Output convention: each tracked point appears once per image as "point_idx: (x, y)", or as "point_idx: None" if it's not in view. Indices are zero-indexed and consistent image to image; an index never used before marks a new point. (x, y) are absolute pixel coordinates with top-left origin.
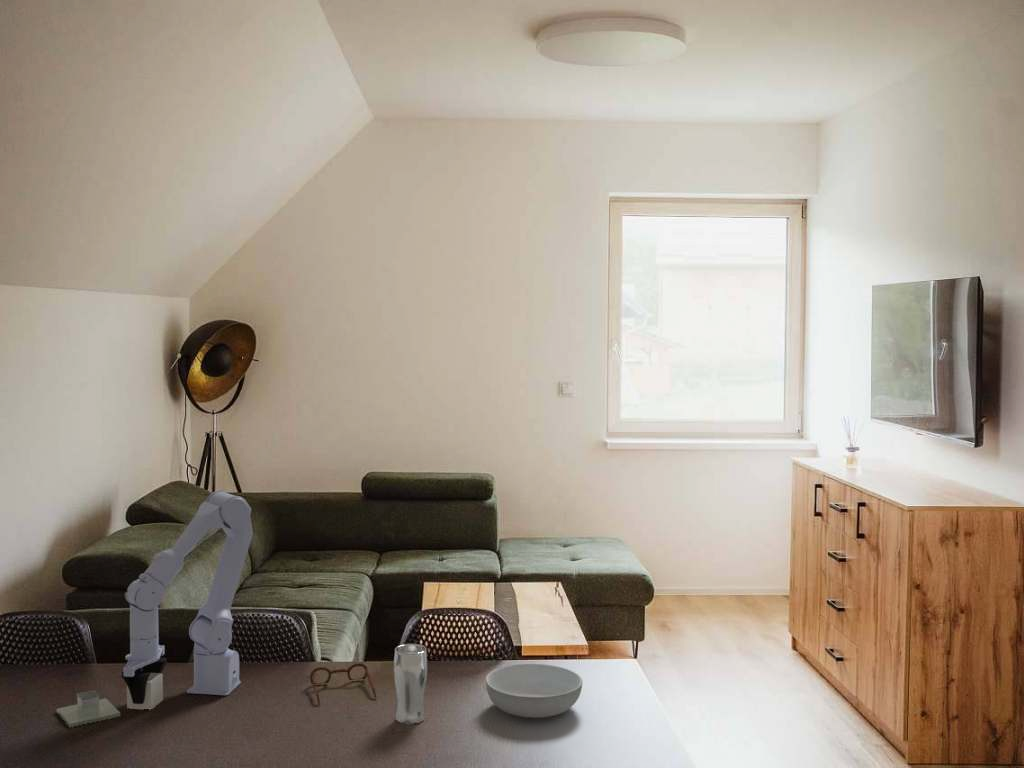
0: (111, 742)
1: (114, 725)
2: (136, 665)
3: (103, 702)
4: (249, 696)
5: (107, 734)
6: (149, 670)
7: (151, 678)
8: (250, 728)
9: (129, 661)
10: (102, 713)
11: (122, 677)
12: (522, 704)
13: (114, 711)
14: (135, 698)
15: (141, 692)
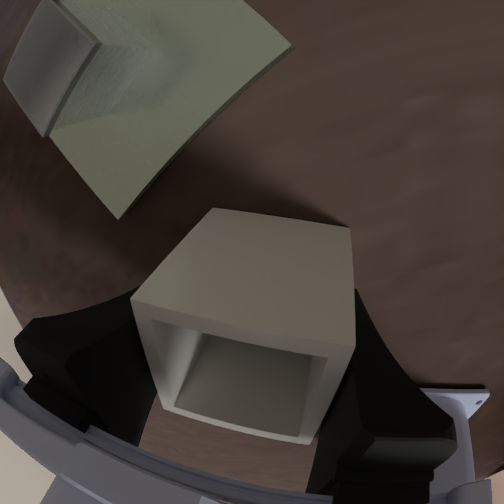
0: (18, 254)
1: (70, 223)
2: (21, 448)
3: (218, 65)
4: None
5: (32, 228)
6: (336, 415)
7: (311, 384)
8: (176, 451)
9: (38, 446)
10: (94, 145)
11: (35, 321)
12: None
13: (121, 188)
14: None
15: None
